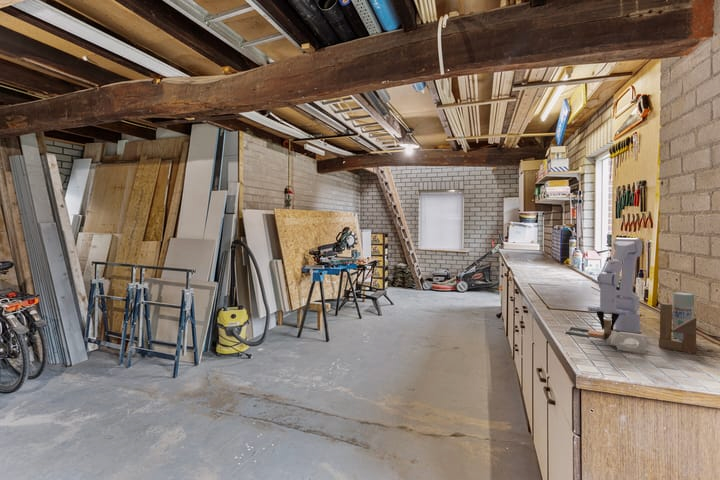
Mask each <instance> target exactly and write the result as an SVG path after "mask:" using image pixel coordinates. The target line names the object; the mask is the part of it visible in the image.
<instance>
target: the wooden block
mask: <svg viewBox="0 0 720 480" xmlns="http://www.w3.org/2000/svg"><path fill="white" fill-rule="evenodd" d="M659 308H660V309H659V313H660V314H659V337H658V347H659V348H662V349H663V348H664V349H668V350H674V351H679V352H685V353H689V352H691V353H690V354H696V352H697V349H696V347H697V320H698V319H697V315H695V316H693V318H691V319H689V320H687V321H686V322H684V323H682V324H680V325H679V326H677V327H675V328H673V303H668V302H661V303H660V307H659ZM673 332H676V333H683V341H682V340H677V339H674V338H673Z"/></svg>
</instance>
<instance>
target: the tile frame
mask: <svg viewBox="0 0 720 480" xmlns="http://www.w3.org/2000/svg"><path fill="white" fill-rule="evenodd" d="M571 330H576V331H580V332H576V331H571ZM589 330H592V329H589V328H584V327H578V326H572V325H568V327H567V329H566V330H565V334H566V335H573V336H580V337H584V338H590V336H589V334H588V331H589ZM582 332H587V333H582Z"/></svg>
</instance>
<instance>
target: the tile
mask: <svg viewBox="0 0 720 480" xmlns="http://www.w3.org/2000/svg"><path fill="white" fill-rule="evenodd" d="M587 334H589V337H592V338H598V339H604V331H601V330H594V329H593V330H592V329H591V330H589V331H588V332H587Z"/></svg>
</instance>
